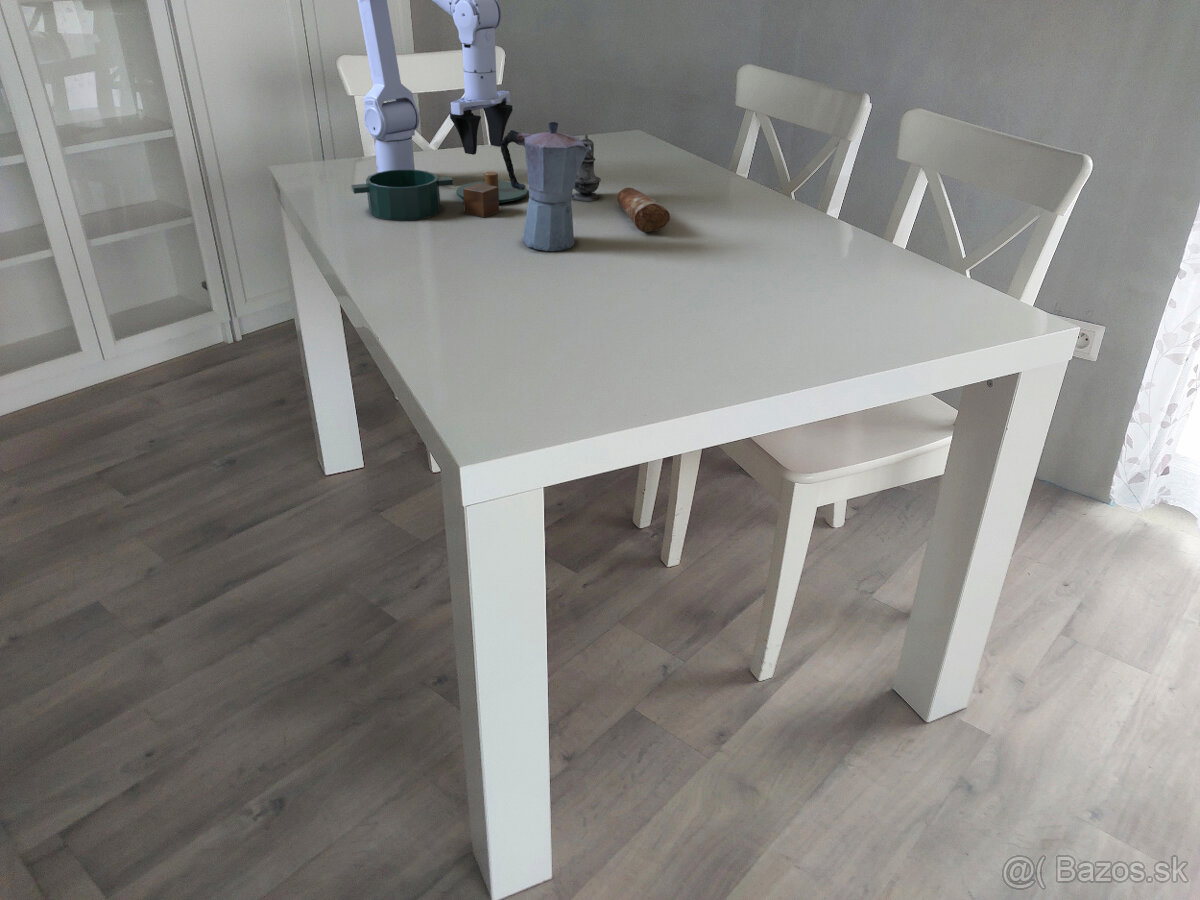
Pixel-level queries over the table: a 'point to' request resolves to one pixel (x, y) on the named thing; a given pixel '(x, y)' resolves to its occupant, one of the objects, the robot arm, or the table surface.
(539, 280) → the table surface
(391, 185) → the pot
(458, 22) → the robot arm
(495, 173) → the lid
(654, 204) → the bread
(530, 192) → the moka pot
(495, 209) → the block
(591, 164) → the salt shaker
